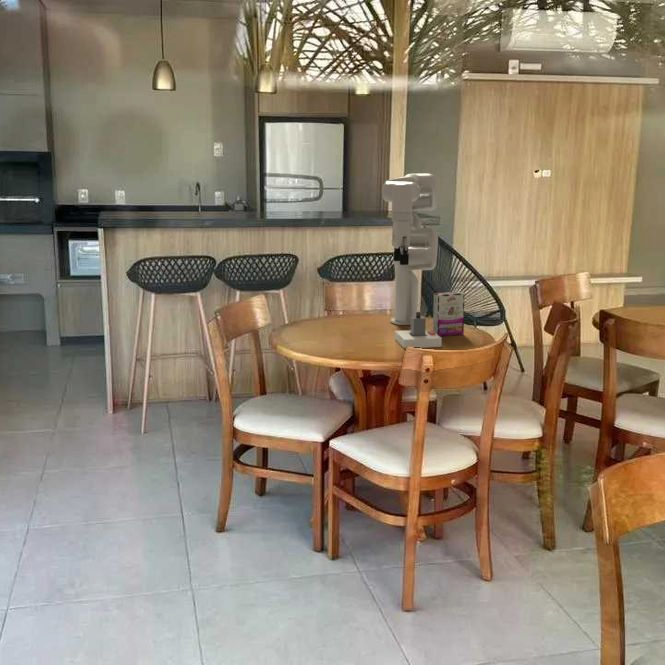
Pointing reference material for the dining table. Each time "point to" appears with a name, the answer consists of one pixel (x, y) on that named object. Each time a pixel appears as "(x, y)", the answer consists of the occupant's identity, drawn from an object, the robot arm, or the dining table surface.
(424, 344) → the socket plate
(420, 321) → the plug
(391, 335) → the dining table surface
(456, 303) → the candy bar box
